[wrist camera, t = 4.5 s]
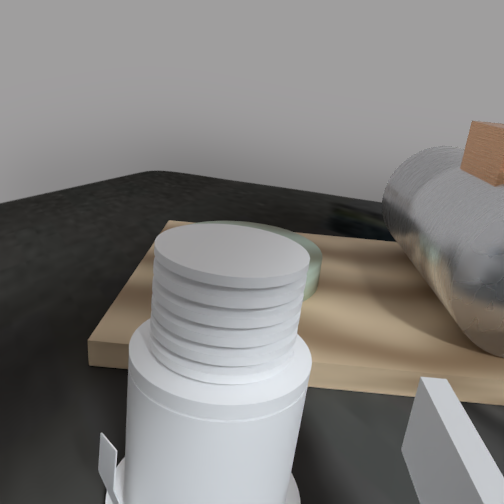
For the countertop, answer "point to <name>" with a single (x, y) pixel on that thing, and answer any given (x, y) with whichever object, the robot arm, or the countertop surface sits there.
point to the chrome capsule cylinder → (456, 228)
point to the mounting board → (344, 322)
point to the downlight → (215, 373)
